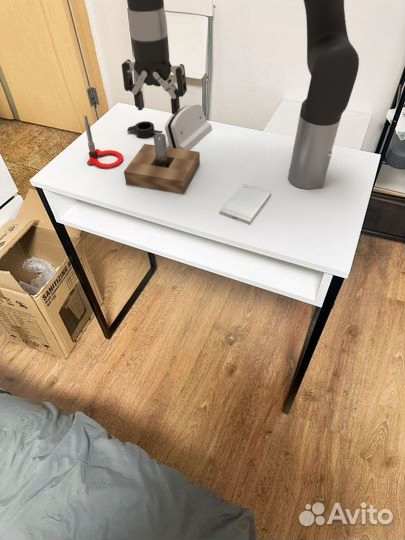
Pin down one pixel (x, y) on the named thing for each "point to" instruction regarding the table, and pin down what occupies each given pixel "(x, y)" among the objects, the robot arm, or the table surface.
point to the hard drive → (245, 204)
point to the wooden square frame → (162, 169)
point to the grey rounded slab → (187, 127)
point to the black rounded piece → (144, 130)
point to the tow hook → (100, 152)
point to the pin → (161, 150)
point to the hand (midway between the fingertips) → (157, 110)
